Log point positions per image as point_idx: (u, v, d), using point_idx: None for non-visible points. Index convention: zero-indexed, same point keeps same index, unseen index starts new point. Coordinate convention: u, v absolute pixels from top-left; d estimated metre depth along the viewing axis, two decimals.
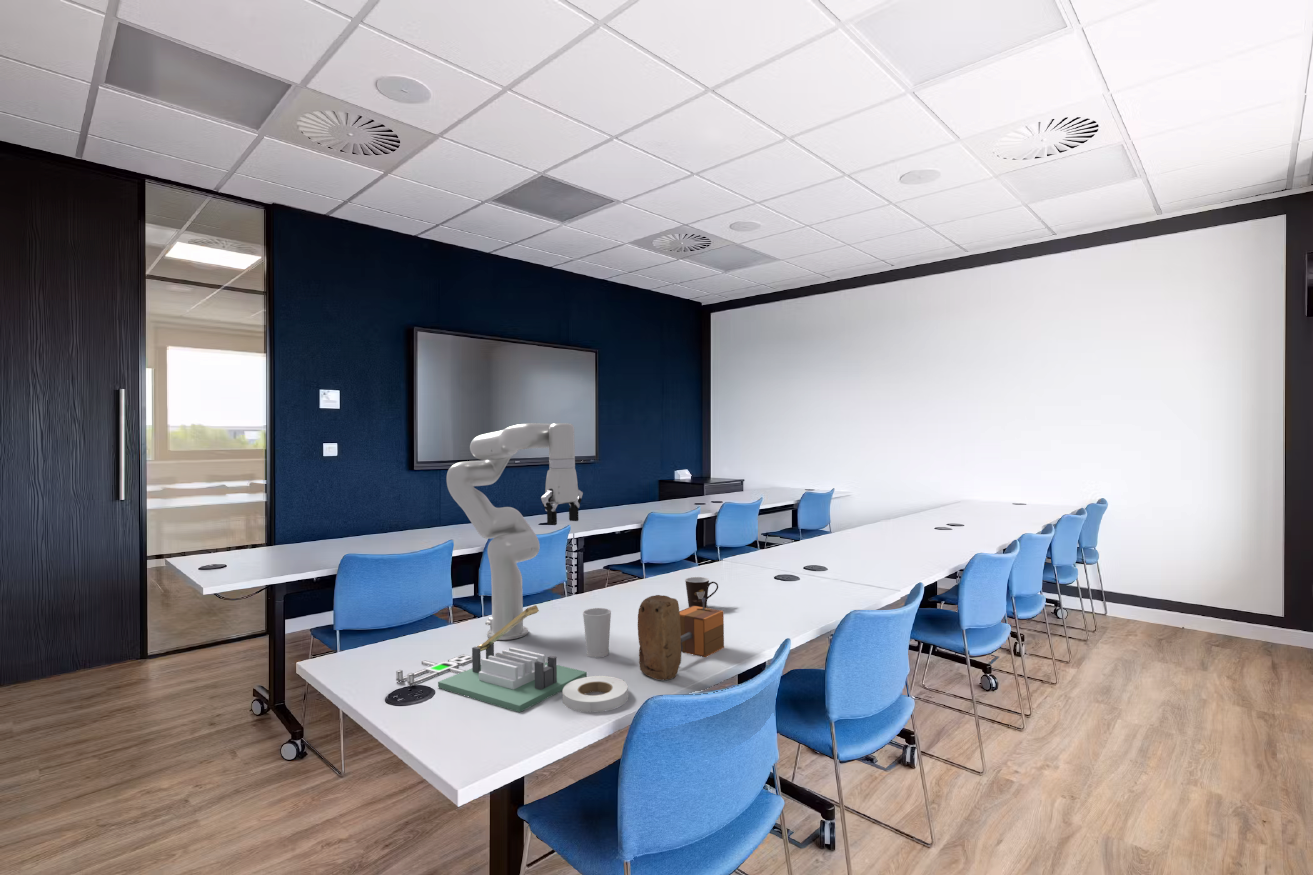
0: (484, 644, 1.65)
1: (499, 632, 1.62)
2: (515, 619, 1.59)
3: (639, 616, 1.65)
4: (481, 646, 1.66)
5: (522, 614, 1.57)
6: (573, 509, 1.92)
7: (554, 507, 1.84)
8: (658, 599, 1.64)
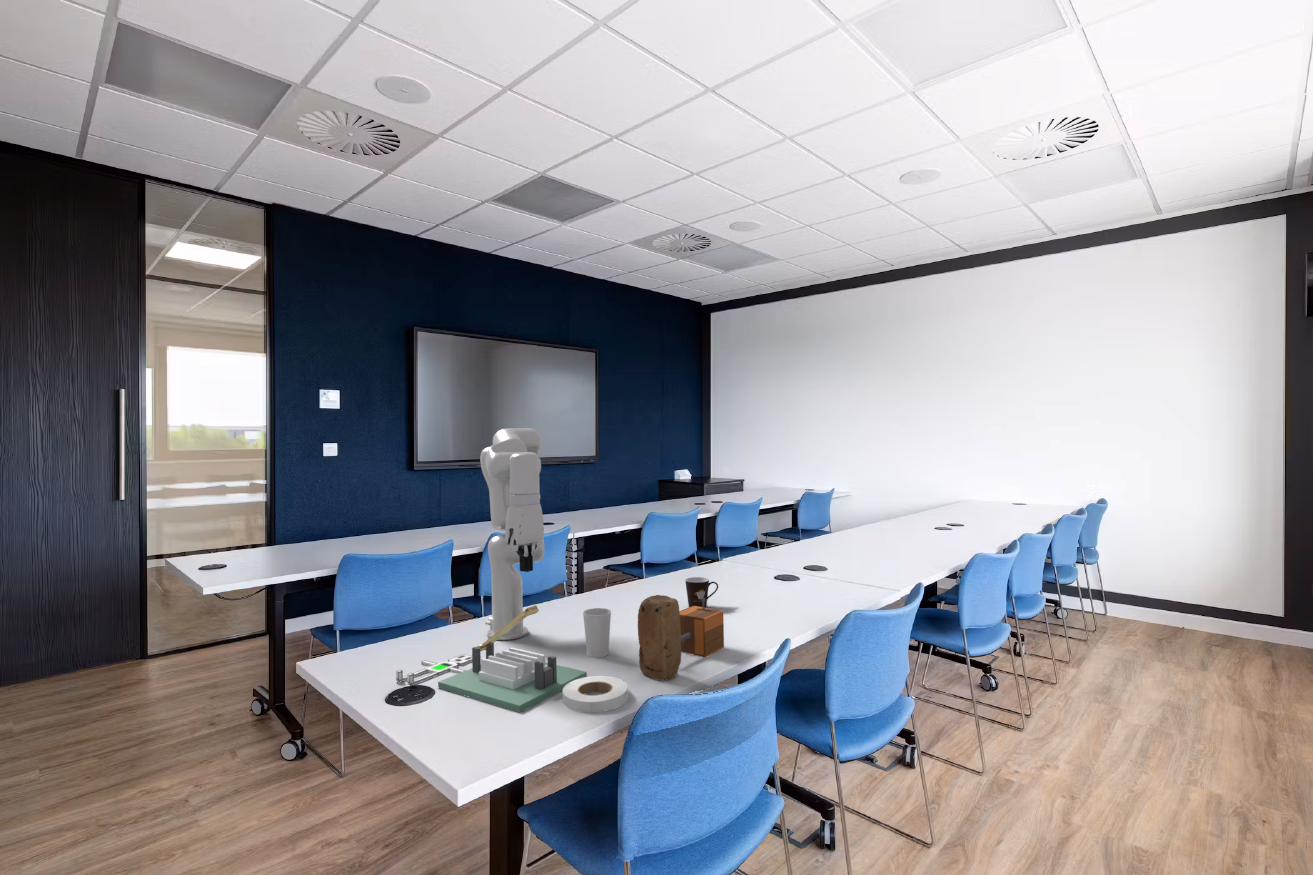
0: (484, 644, 1.65)
1: (499, 632, 1.62)
2: (515, 619, 1.59)
3: (639, 616, 1.65)
4: (481, 646, 1.66)
5: (522, 614, 1.57)
6: None
7: (527, 552, 1.65)
8: (658, 599, 1.64)
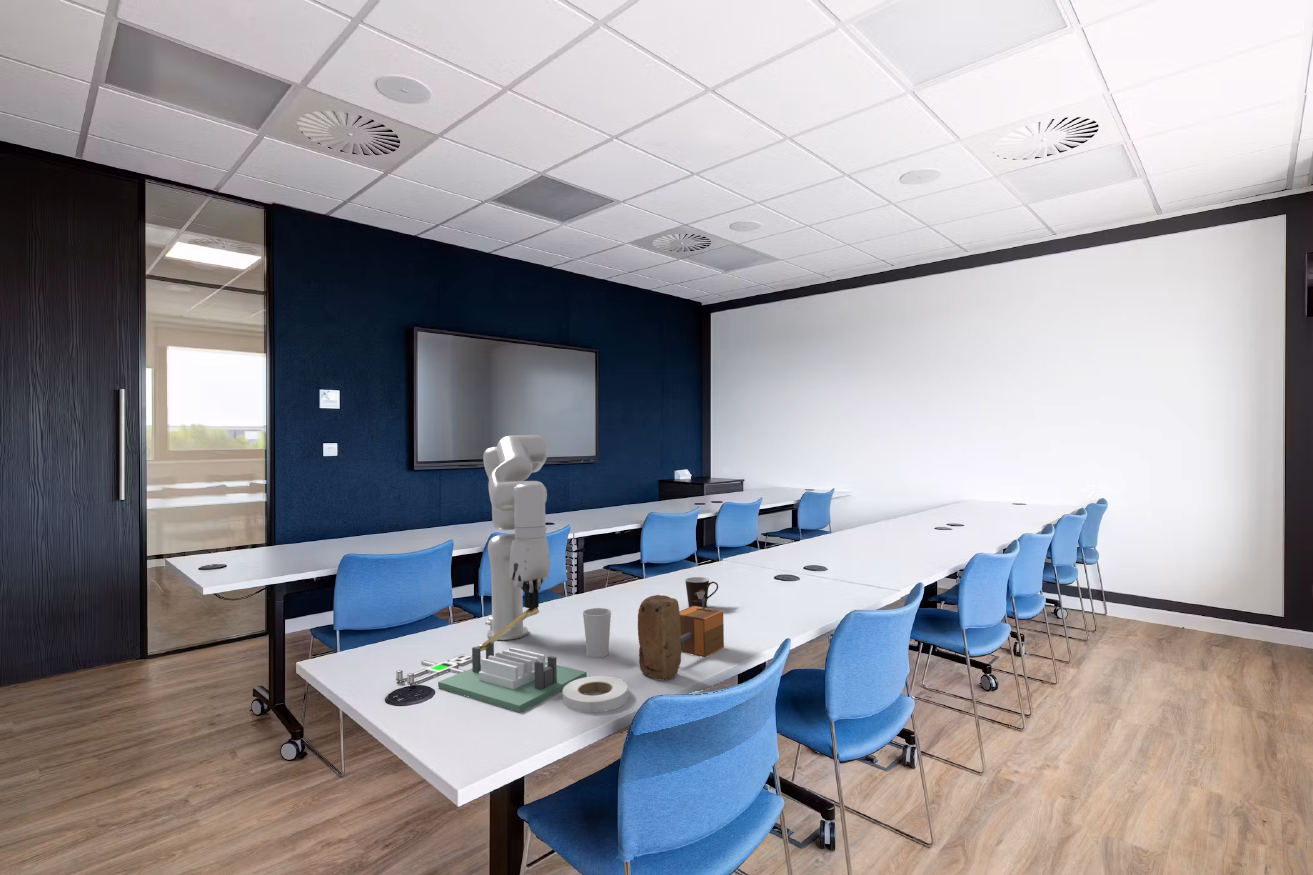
0: (484, 644, 1.65)
1: (499, 632, 1.62)
2: (515, 620, 1.59)
3: (639, 616, 1.65)
4: (481, 646, 1.65)
5: (522, 615, 1.57)
6: None
7: (532, 587, 1.56)
8: (658, 599, 1.64)
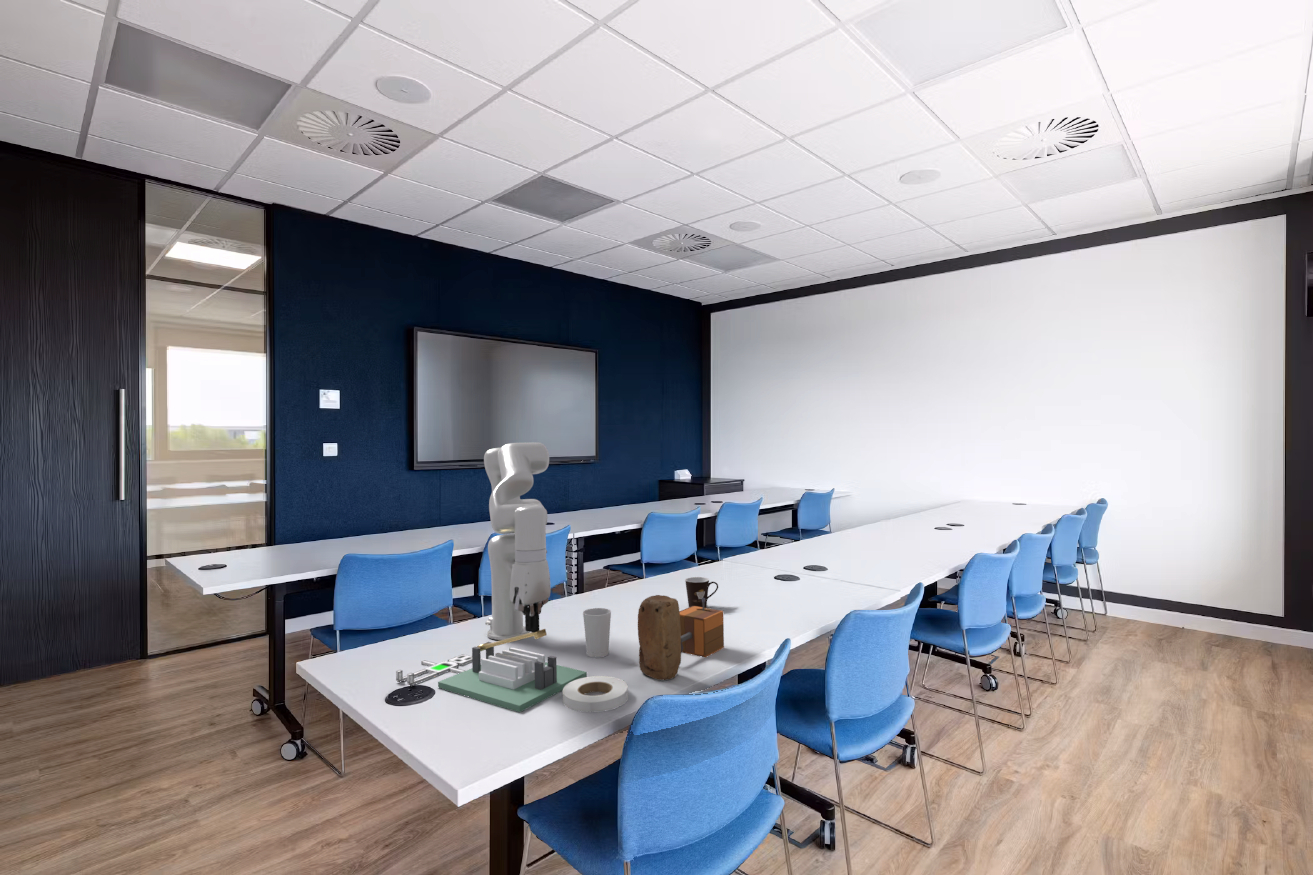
0: (485, 647, 1.65)
1: (502, 642, 1.61)
2: (521, 637, 1.58)
3: (639, 616, 1.65)
4: (481, 647, 1.65)
5: (530, 635, 1.56)
6: None
7: (533, 611, 1.56)
8: (658, 599, 1.64)
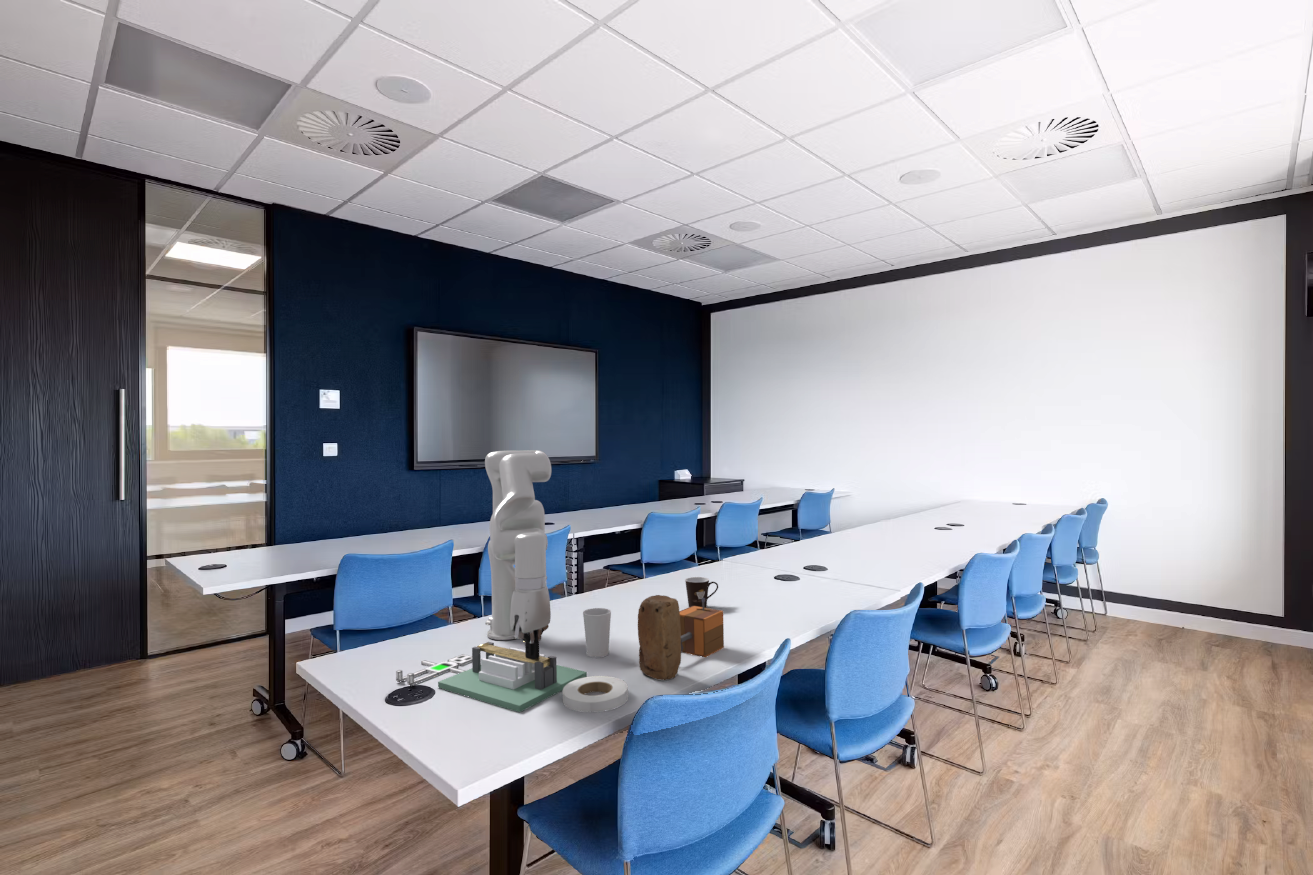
0: (485, 650, 1.65)
1: (504, 655, 1.61)
2: (524, 659, 1.57)
3: (639, 616, 1.65)
4: (482, 649, 1.65)
5: (533, 662, 1.56)
6: None
7: (533, 638, 1.56)
8: (658, 599, 1.64)
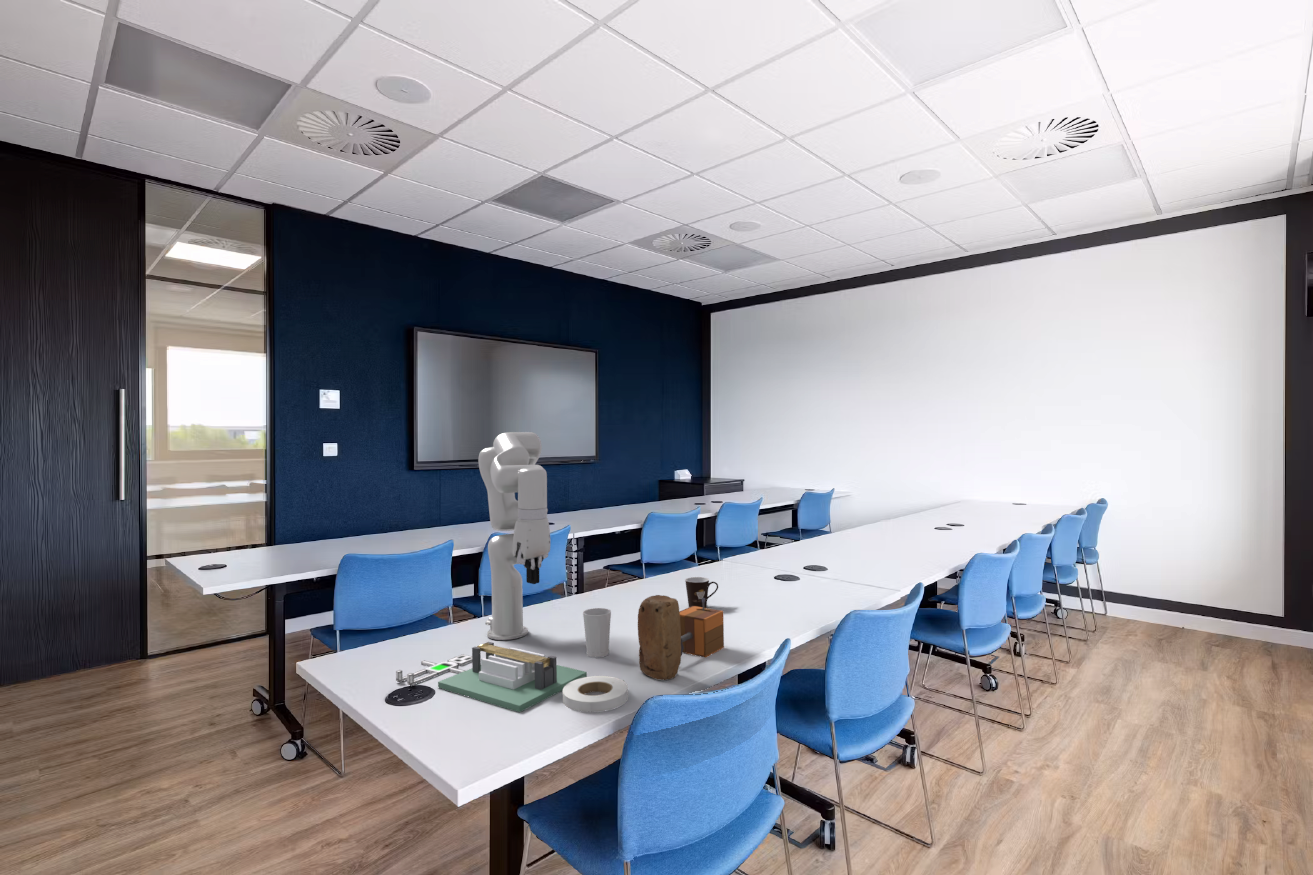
0: (485, 650, 1.65)
1: (504, 655, 1.61)
2: (524, 659, 1.57)
3: (639, 616, 1.65)
4: (482, 649, 1.65)
5: (533, 662, 1.56)
6: None
7: (534, 565, 1.68)
8: (658, 599, 1.64)
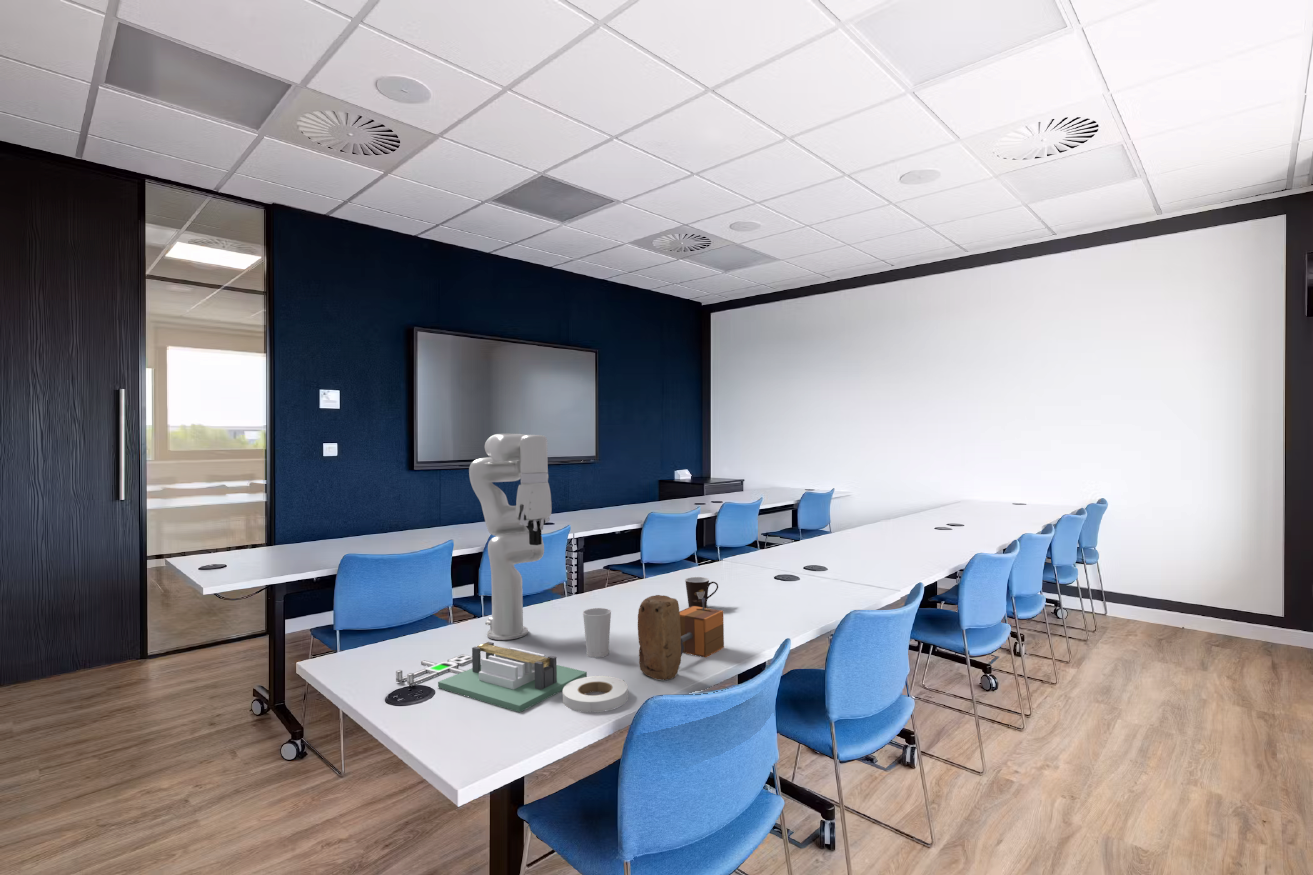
0: (485, 650, 1.65)
1: (504, 655, 1.61)
2: (524, 659, 1.57)
3: (639, 616, 1.65)
4: (482, 649, 1.65)
5: (533, 662, 1.56)
6: None
7: (536, 526, 1.77)
8: (658, 599, 1.64)
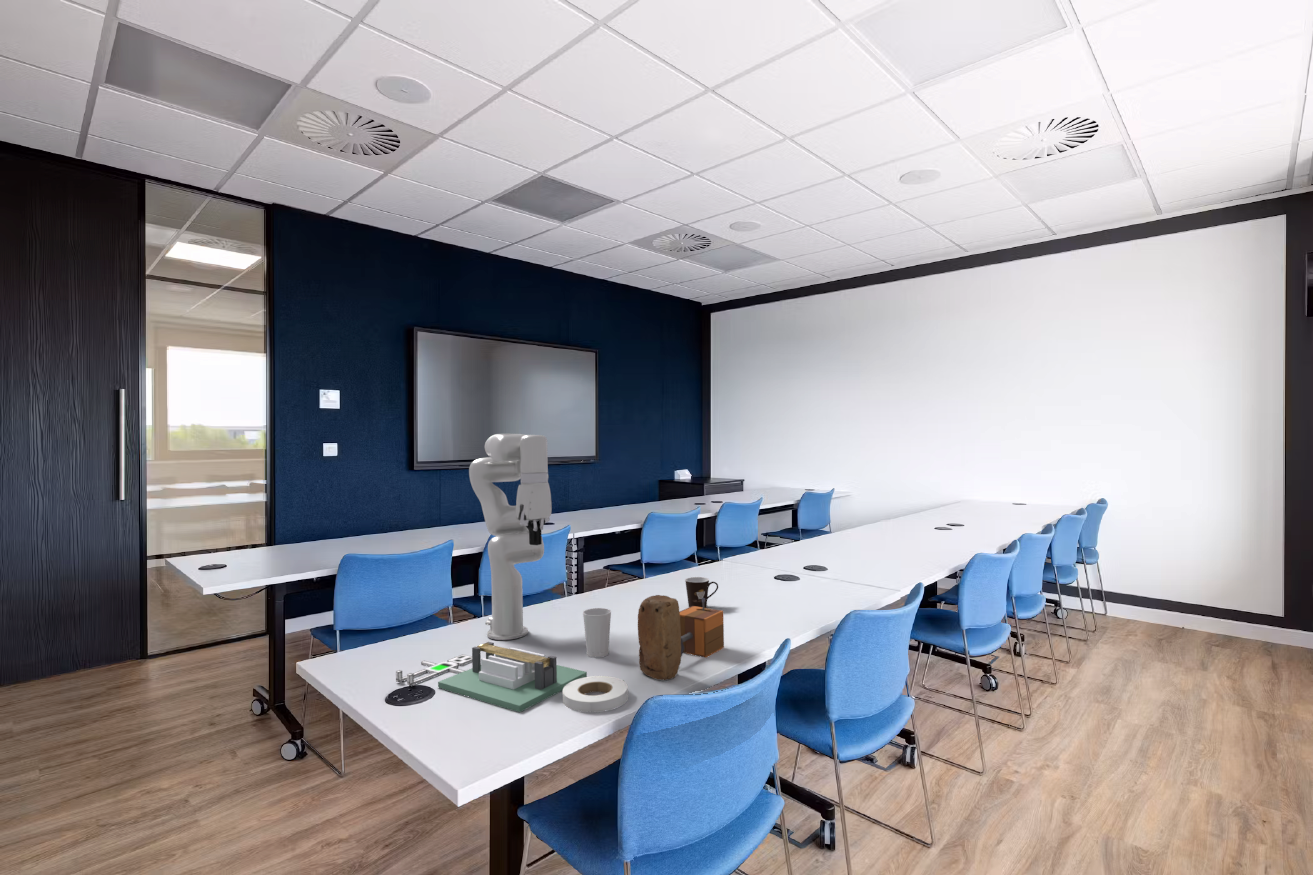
0: (485, 650, 1.65)
1: (504, 655, 1.61)
2: (524, 659, 1.57)
3: (639, 616, 1.65)
4: (482, 649, 1.65)
5: (533, 662, 1.56)
6: None
7: (536, 526, 1.77)
8: (658, 599, 1.64)
